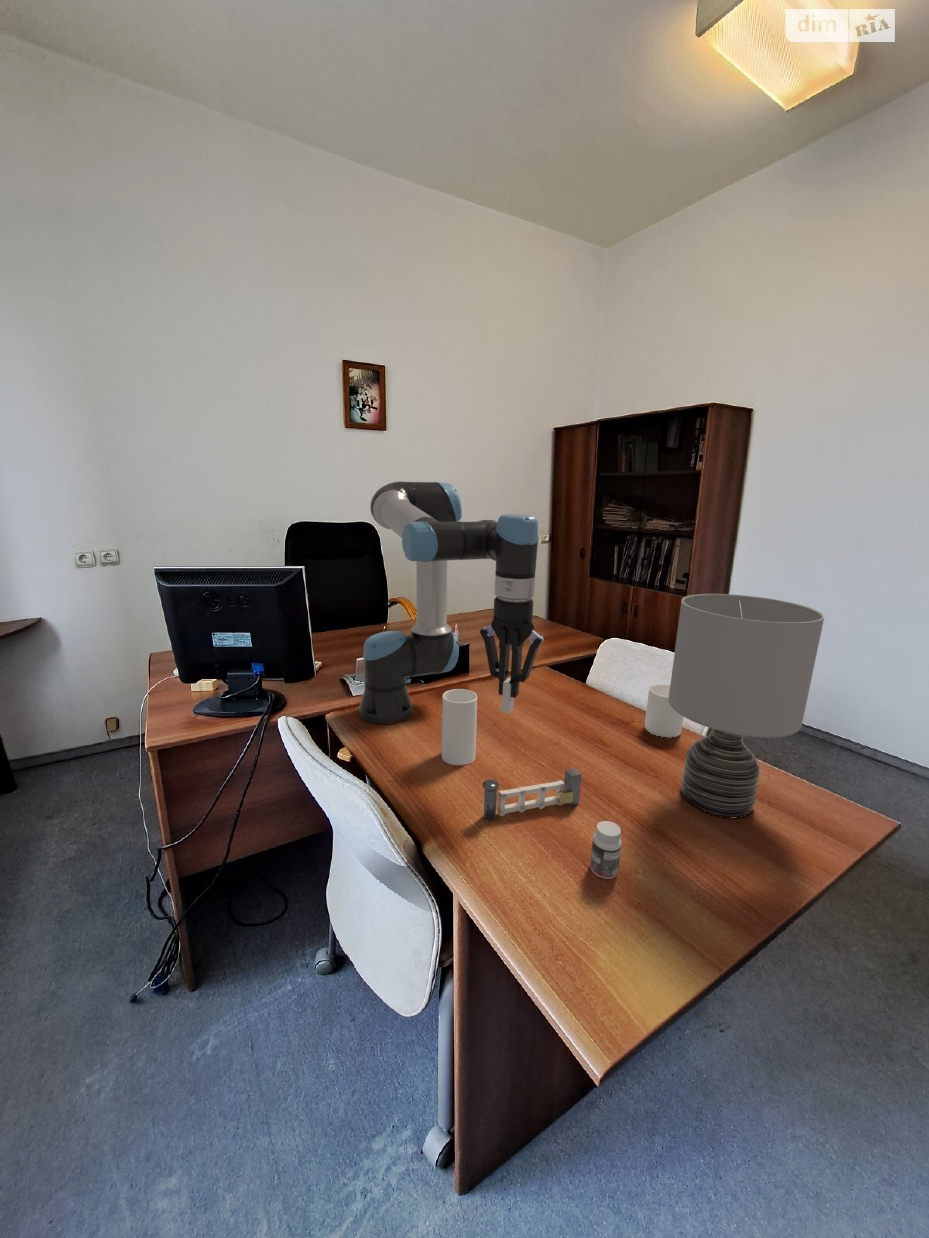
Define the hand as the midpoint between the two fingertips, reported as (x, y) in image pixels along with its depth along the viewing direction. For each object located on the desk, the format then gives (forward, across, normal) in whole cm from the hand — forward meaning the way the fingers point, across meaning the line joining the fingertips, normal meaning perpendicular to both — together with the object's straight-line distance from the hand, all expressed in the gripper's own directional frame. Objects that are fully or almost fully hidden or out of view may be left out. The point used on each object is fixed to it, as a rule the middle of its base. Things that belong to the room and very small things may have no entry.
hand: (507, 710), depth 102 cm
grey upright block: (+20, +13, +3) cm, 24 cm away
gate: (+19, +7, -2) cm, 21 cm away
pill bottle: (+20, +24, -12) cm, 33 cm away
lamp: (+20, +41, +20) cm, 50 cm away
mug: (+20, +27, +49) cm, 60 cm away
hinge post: (+20, 0, -8) cm, 21 cm away
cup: (+20, -15, +10) cm, 27 cm away
